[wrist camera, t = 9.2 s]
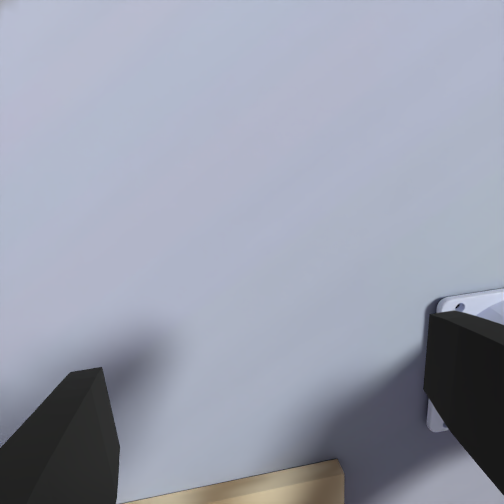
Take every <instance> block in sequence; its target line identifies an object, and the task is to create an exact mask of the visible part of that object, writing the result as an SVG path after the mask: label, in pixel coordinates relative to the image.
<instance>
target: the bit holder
mask: <svg viewBox="0 0 504 504" xmlns="http://www.w3.org/2000/svg"><path fill="white" fill-rule="evenodd" d="M123 504H344V472H343V470H342V468H341V466H340V464H339V461H338V459H334V460H329V461H325V462H320V463H315V464H310V465H305V466H301V467H296V468H291V469H286V470H282V471H277V472H272V473H267V474H262V475H258V476H253V477H248V478H243V479H238V480H234V481H229V482H224V483H219V484H214V485H210V486H205V487H200V488H195V489H191V490H186V491H181V492H176V493H171V494H167V495H162V496H157V497H152V498H147V499H143V500H138V501H133V502H128V503H123Z"/></svg>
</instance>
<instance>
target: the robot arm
mask: <svg viewBox="0 0 504 504" xmlns="http://www.w3.org/2000/svg"><path fill="white" fill-rule="evenodd" d="M459 303H460V305H459V307H458V308H456V309H455V307H456V306H457V305H458V304H459ZM423 389H424V391H425V393H426V394H427V396H428V398H429V401H428V412H427V426H428V427H429V429H430V430H431V431H432V432H442V431H447V430H450V431H451V432H452V434H453V435H454V436H455V437H456V439H457V440H458V441H459V442H460V444H461V445H462V446H463V447H464V448H465V450H466V451H467V452H468V453H469V455H470V456H471V457H472V458H473V459H474V461H475V462H476V463H477V464H478V465H479V467H480V468H481V469H482V470H483V471H484V472H485V474H486V475H487V476H488V477H489V478H490V480H491V481H492V482H493V483H494V484H495V486H496V487H497V488H498V489H499V490H500V492H501V493H502V494H503V495H504V288H502V289H496V290H489V291H483V292H476V293H470V294H464V295H457V296H451V297H446V298H443V299H442V300H441V301H440V302H439V303H438V306H437V312H436V313H435V314H430V317H429V329H428V341H427V353H426V364H425V376H424V388H423ZM119 453H120V445H119V441H118V436H117V432H116V427H115V423H114V418H113V414H112V409H111V405H110V400H109V396H108V392H107V387H106V383H105V378H104V374H103V369H102V367H99V368H93V369H87V370H81V371H75V372H70V373H69V374H68V375H67V376H66V377H65V378H64V380H63V381H62V382H61V383H60V384H59V385H58V386H57V387H56V388H55V389H54V390H53V392H52V393H51V394H50V395H49V396H48V397H47V398H46V399H45V400H44V402H43V403H42V404H41V405H40V406H39V407H38V408H37V409H36V410H35V412H34V413H33V414H32V415H31V416H30V417H29V418H28V419H27V420H26V421H25V422H24V423H23V424H22V426H21V427H20V428H19V429H18V430H17V431H16V432H15V433H14V434H13V435H12V436H11V437H10V438H9V439H8V441H7V442H6V443H5V444H4V445H3V446H2V447H1V448H0V504H116V499H117V488H118V473H119Z"/></svg>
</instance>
